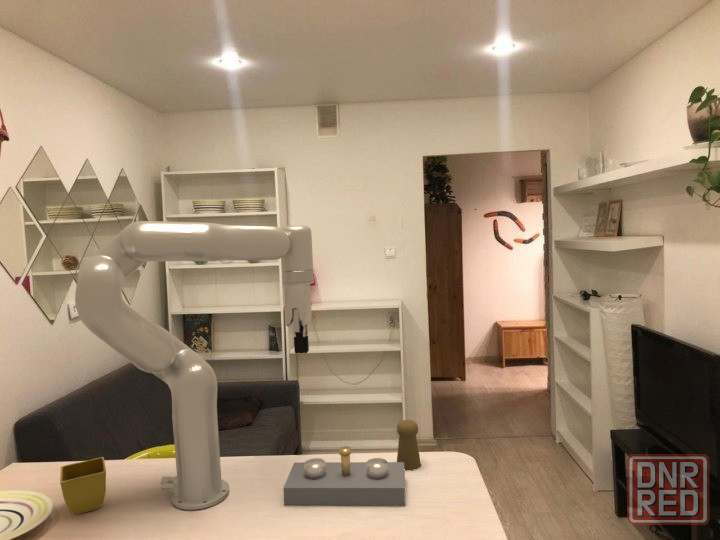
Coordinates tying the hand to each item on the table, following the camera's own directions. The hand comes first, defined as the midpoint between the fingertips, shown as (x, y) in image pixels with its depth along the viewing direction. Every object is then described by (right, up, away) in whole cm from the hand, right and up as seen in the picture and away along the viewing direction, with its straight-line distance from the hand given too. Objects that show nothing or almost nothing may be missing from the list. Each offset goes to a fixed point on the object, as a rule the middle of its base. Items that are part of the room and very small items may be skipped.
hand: (301, 352), depth 133 cm
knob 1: (+4, -30, -9) cm, 31 cm away
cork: (+26, -28, +2) cm, 39 cm away
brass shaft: (+11, -26, -10) cm, 30 cm away
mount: (+11, -30, -10) cm, 33 cm away
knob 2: (+18, -29, -10) cm, 36 cm away
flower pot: (-46, -33, -12) cm, 58 cm away
